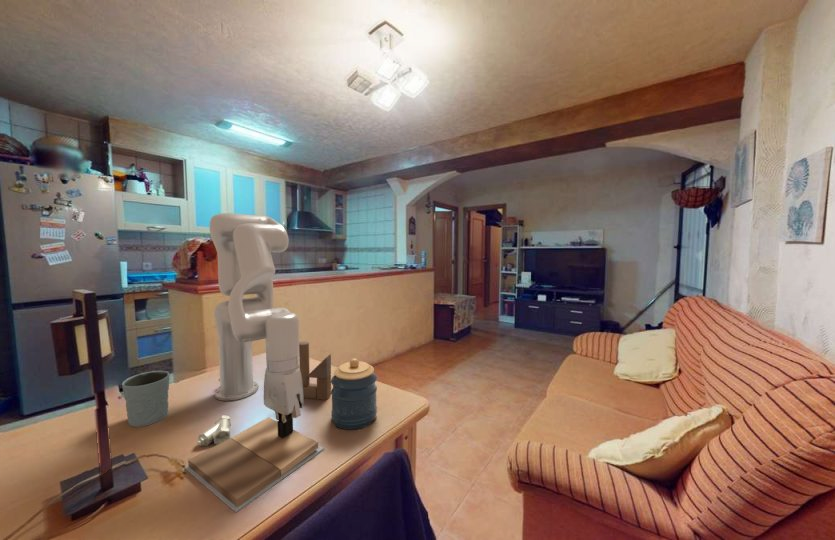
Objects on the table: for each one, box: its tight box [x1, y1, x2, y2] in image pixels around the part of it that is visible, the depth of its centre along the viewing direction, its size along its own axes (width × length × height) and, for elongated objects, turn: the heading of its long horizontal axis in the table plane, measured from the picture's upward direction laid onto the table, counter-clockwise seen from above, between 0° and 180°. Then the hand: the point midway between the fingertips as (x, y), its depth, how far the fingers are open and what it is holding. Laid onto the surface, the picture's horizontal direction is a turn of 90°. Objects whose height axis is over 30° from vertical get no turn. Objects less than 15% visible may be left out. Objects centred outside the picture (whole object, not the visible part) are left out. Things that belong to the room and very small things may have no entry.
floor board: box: [187, 437, 280, 507], centre depth 67 cm, size 20×9×2 cm, turn 58°
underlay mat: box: [184, 444, 325, 513], centre depth 71 cm, size 21×21×1 cm
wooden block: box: [299, 340, 332, 400], centre depth 100 cm, size 4×11×18 cm, turn 83°
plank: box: [230, 416, 319, 476], centre depth 75 cm, size 20×10×2 cm, turn 59°
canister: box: [330, 357, 378, 430], centre depth 88 cm, size 13×13×18 cm
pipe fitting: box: [197, 415, 232, 447], centre depth 79 cm, size 8×4×7 cm
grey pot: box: [121, 370, 171, 427], centre depth 87 cm, size 10×10×12 cm
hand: (285, 434), depth 77 cm, fingers closed
